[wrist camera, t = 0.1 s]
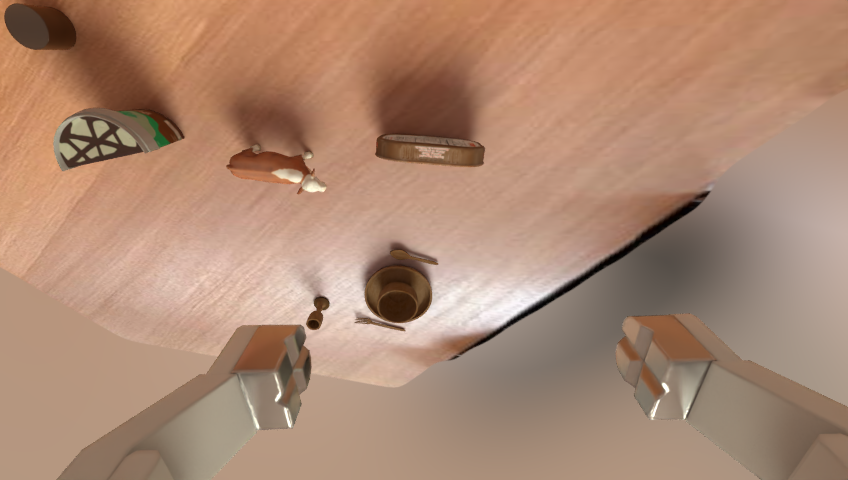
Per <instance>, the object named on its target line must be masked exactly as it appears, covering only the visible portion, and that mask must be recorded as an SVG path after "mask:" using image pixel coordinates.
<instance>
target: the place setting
mask: <svg viewBox="0 0 848 480" xmlns="http://www.w3.org/2000/svg"><path fill="white" fill-rule="evenodd" d="M390 254H391V255H392V256H393V257H394V258H396V259H399V260H404V259H413V260H417V261H421V262H425V263H429V264H434V265H438V263H436V262H434V261H430V260H426V259H421V258H416V257H412V256H410V255H409V254H408V253H407V252H405V251H403V250H392V251H391V252H390ZM365 301H366V304H367V306H368V308H369V309H370V310H371V312H372V313H374V314H375V315H376V316H377V317H379V318H381V319H383V320H385V321H388V322H393V323H405V322H410V321H413V320H415V319H418V318H419V317H421V316H422V315H423V314H424V313H425V312H426V311H427V310H428V308H429V307H430V305H431V301H432V289H431V286H430V284H429V282H428V280H427V279H426V278H425V276H424V275H423V274H421V273H420V272H419V271H417V270H415V269H413V268H411V267H407V266H401V265H394V266H389V267H385V268H383V269H381V270H379V271H377V272H376V273H375V274H374V275H372V277H371V278H370V279H369V281H368V282H367V285H366V288H365ZM314 306H315V307H316V308H317V311H313V312H312V313H311V314H310V316H309V317H308V320H307V323H306V325H307V327H308V328H309V329H312V330H317V329H319V328H320V326H321V324H322V321H323V314H322V313H321V311H322V310H326V309H327V308H328V307H329V301H328V300H327V299H326V298H323V297H319V298H316V299H315V301H314ZM362 319H368V318H358V319H355V320H362ZM360 322H367V323H362V324H374V325H378V326H382V327H386V328H391V329H395V330H400V331H405V330H404V329H401V328H397V327H393V326H388V325H384V324H379V323H375V322H372V321H371V320H370V319H368V320H364V321H357V322H354V323H360Z"/></svg>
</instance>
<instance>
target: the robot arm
mask: <svg viewBox="0 0 848 480" xmlns="http://www.w3.org/2000/svg"><path fill="white" fill-rule="evenodd" d="M622 331H623V332H624V334H625V335H626V336H625V337H624V338H622V339H621V340H620V341H619V342H618V344H617V348H616V353H615V354H616V362H617V367H618V369H619V372H620V374H621V375H622V377H623V379H624V380H625V381H626V382H628V383H629V384H631V385H632V386H634V387H635V393H634V397H635V398H636V400H637V401H638V403H639V405H640V406H641V408H642V409H643V411H644V412H645V414H646V416H647V417H648V419H653V420H660V419H661V420H678V419H679V420H686V422H687V423H689V424H690V425H691V426H692V427H694V428H695V429H696V430H698V431H699V432H700V433H701V434H703V435H704V436H705V437H707V438H708V439H709V440H710V441H712V442H713V443H715V444H716V445H717V446H718V447H720V448H721V449H722V450H723V451H725V452H726V453H727V454H729V455H730V456H731V457H732V458H734V459H735V460H736V461H738V462H739V463H740V464H741V465H743V466H744V467H745V468H746V469H748V470H749V471H750V472H752V473H753V474H754V475H756V476H757V477H758V478H759V479H761V480H848V407H847V406H845V405H843V404H841V403H838V402H836V401H834V400H832V399H830V398H828V397H826V396H824V395H821V394H819V393H817V392H815V391H813V390H811V389H809V388H807V387H805V386H802V385H800V384H798V383H796V382H794V381H792V380H790V379H788V378H785V377H783V376H781V375H779V374H777V373H775V372H773V371H771V370H769V369H767V368H764V367H762V366H760V365H758V364H756V363H754V362H752V361H749V360H748V361H743V360H742V359H740V358H739V357H738V356H737V355H736V354H735V353H734V352H733V351H732V350H731V349H730V348H729V347H728V346H727V345H726V344H725V343H724V342H723V341H722V340H720V339H719V338H718V337H717V336H716V335H715V334H714V333H713V332H712V331H711V330H710V329H709V328H708V327H707V326H706V325H705V324H704V323H702V321H701V320H699V319H698V318H697V317H696V316H694V315H692V314H690V313H689V314H669V315H652V316H627V318H626V319H625V320H624V322H623V325H622ZM305 339H306V334H305V330H304V327H303V326H301V325H242V326H240V327H239V328H237V329H236V331H235V332H234V334H233V335H232V337H231V338H230V340H229V341H228V343H227V344H226V346H225V347H224V349H223V350H222V351H221V353H220V354H219V356H218V357H217V359H216V360H215V362H214V363H213V365H212V366H211V368H210V369H209V371H208V372H207V374H201V375H198V376H197V377H195V378H194V379H192V380H190V381H189V382H187V383H186V384H184V385H183V386H181V387H179V388H178V389H176V390H175V391H173V392H172V393H170V394H169V395H167V396H165V397H164V398H162V399H161V400H159V401H157V402H156V403H154V404H153V405H151V406H150V407H148V408H147V409H145V410H143V411H142V412H140V413H139V414H137V415H136V416H134V417H132V418H131V419H129V420H128V421H126V422H125V423H123V424H122V425H120V426H119V427H117V428H115V429H114V430H112V431H111V432H109V433H108V434H106V435H104V436H103V437H101V438H100V439H98V440H97V441H95V442H93V443H92V444H90V445H89V446H87V447H86V448H84V449H83V450H82V451H81V452H80V453H79V454H78V455H77V456H76V458H75V459H74V460H73V461H72V462H71V463H70V465H69V466H68V467H67V468H66V469H65V470H64V472H63V473H62V474H61V475H60V476H59V477H58V479H57V480H211V479H212V478H213V477H214V476H215V475H216V474H217V473H218V472H219V471H220V470H221V469H222V468H223V467H224V466H225V465H226V464H227V462H228V461H229V460H230V459H231V458H232V457H233V456H234V455H235V454H236V453H237V452H238V451H239V450H240V449H241V448H242V447H243V446H244V445H245V444H246V443H247V442H248V441H249V440H250V439H251V438H252V437H253V436H254V435H255V434H256V433H257V431H256V430H268V429H287V428H293V427H294V424H295V421H296V418H297V415H298V413H299V410H300V407H301V400H300V396H299V395H300V394H301V393H302V392H303V391H305V390H306V389H307V386H308V383H309V380H310V374H311V356H310V351H309V350H308V349H307V348H306V347H305V346H303V344H304V342H305Z"/></svg>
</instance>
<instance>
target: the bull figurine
mask: <svg viewBox="0 0 848 480" xmlns="http://www.w3.org/2000/svg"><path fill="white" fill-rule="evenodd" d="M260 150H261V147H260V145H254V146H251V147H250V148H249V149H246V150H242V152H240V153H238V154H236V155H234V156H232V157H231V159H230V164H229V165H227V166H226V167H227V168H228V169H229V170H231V172H232V174H233V175H234V176H237V177H239V178H242V179H251V180H258V181H264V182H272V183H283V184H294V183H300V184H302V187H301V188H300V189H299V191H298V193H297V194H300V193H301V192H302V191H304V190H306V191H309V192H315V191H321V192H324V191H325V190H326V184H325V183H324V182H322V181H320V180H319V179H318V178H317V177H315V176H314V172H315V169H313V171H311V170H310V169H309V168H308V167H307V166H306V165H305V163H304V161H303V160H305V158H306V159H307V158H312V157H313V153H312V152H310V151H309V152H307V153H306V152H305V153H304V155H299V156H294V157H288V156H285V155H281V154H279V153H275V152H262V153H259V154H255V153H254V152H253V151H260Z"/></svg>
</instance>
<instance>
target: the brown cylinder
mask: <svg viewBox="0 0 848 480" xmlns="http://www.w3.org/2000/svg"><path fill="white" fill-rule="evenodd" d="M4 17H5V23H6V26H7V28H8V30H9V32H10V33H11V35H12V36H13V37H14V38H15V39H16V40H17V41H18V42H19V43H20V44H22V45H23V46H25V47H27V48H30V49H34V50H67V49H70V48H71V47H73V45H74V44H75V41H76V33H75V29H74V27H73V25H72V23H71V22H70V20H69V19H68V18H67V17H66V16H65V15H64V14H63V13H61V12H60V11H58V10H56V9H54V8H50V7H43V6H34V5H26V4H12V5H10V6H9V7H8V8H7V9H6V11H5V16H4Z"/></svg>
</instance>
